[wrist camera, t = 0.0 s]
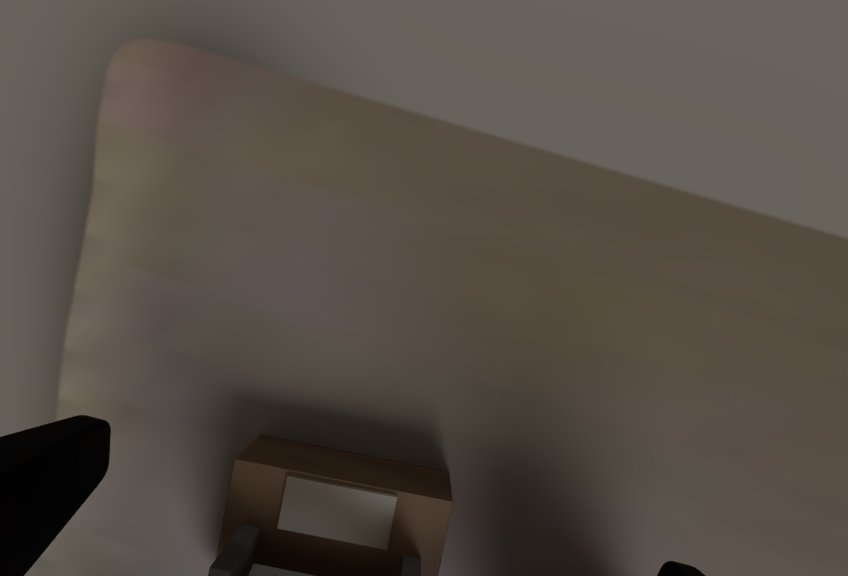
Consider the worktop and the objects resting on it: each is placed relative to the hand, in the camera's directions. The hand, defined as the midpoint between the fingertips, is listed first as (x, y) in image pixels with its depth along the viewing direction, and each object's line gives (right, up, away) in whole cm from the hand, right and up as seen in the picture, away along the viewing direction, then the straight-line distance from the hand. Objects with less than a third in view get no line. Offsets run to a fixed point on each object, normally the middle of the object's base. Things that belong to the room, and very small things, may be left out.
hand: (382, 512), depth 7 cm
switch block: (-4, -9, +16) cm, 18 cm away
